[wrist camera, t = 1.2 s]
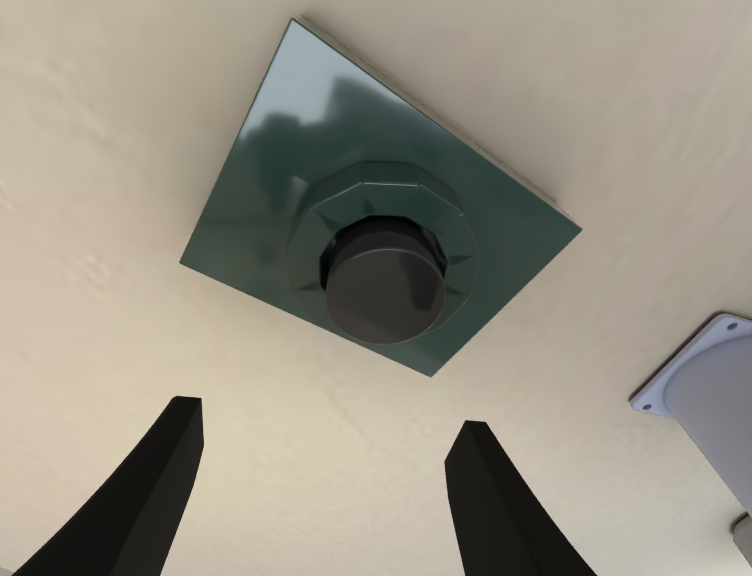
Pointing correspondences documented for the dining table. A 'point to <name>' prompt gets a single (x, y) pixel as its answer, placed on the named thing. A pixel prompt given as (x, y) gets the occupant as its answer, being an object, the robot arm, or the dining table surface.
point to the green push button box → (367, 197)
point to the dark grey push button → (384, 283)
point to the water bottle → (744, 538)
